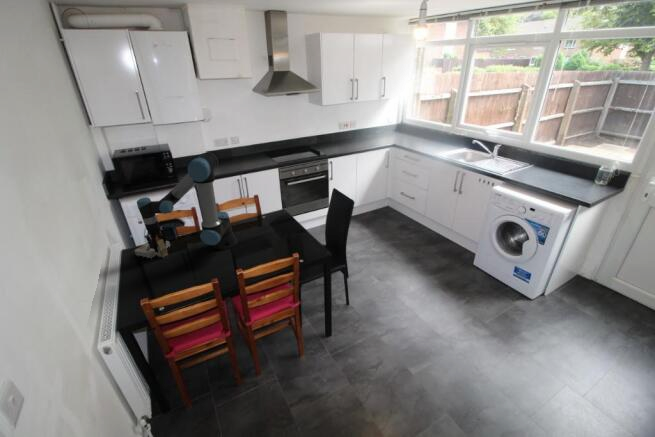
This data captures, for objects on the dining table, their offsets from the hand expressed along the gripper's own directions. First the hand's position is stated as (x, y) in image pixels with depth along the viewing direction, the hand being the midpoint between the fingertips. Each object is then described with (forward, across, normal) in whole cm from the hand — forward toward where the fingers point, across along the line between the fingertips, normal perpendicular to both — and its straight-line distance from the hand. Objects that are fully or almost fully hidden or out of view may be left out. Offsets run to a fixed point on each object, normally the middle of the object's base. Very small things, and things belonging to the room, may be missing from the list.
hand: (162, 253), depth 208 cm
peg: (+2, 0, 0) cm, 2 cm away
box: (+2, -20, -13) cm, 24 cm away
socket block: (+2, -3, -12) cm, 13 cm away
